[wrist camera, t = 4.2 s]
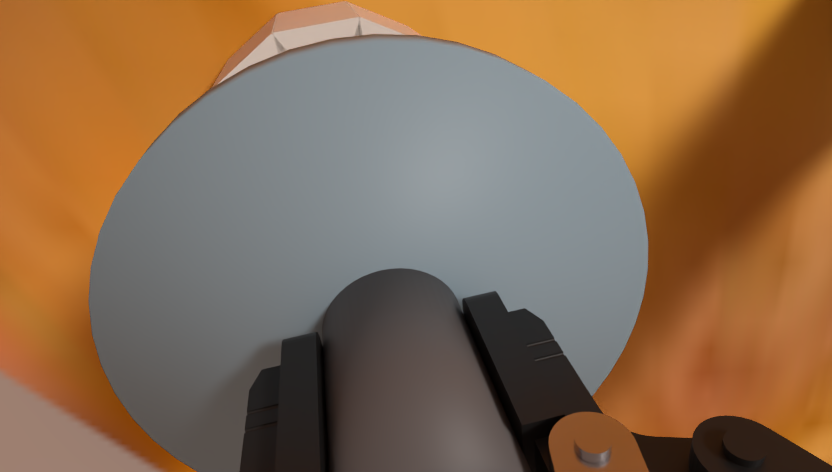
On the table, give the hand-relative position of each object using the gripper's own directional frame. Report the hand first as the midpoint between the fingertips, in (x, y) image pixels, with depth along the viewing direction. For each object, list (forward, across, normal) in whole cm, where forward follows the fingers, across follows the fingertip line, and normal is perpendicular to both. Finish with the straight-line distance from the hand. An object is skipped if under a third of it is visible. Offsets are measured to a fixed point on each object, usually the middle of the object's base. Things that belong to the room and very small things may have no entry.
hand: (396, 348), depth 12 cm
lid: (+2, 0, 0) cm, 2 cm away
